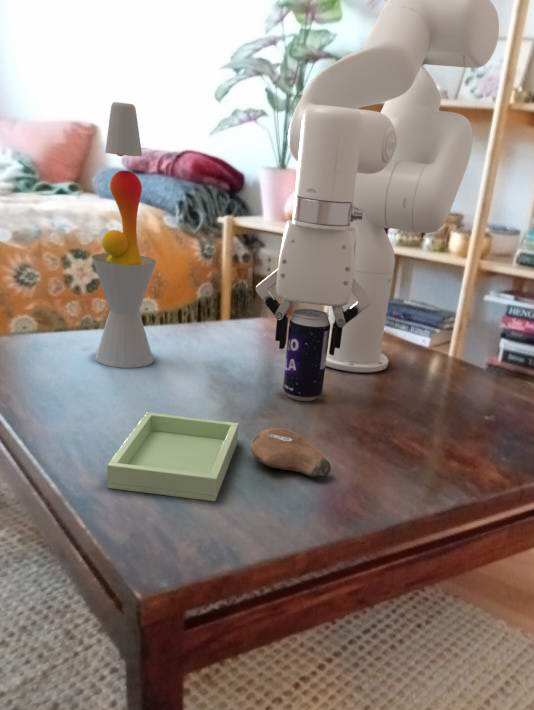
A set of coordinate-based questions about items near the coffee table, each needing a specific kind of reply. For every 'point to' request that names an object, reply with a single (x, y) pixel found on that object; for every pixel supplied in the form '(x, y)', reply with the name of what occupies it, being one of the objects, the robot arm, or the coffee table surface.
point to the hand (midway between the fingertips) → (307, 348)
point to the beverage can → (306, 354)
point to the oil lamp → (288, 452)
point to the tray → (174, 457)
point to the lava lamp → (124, 255)
